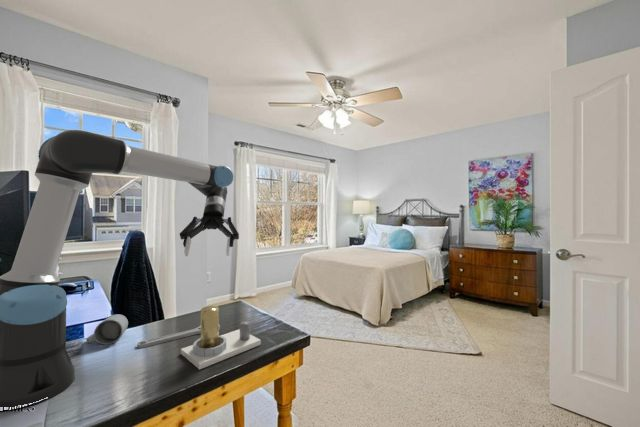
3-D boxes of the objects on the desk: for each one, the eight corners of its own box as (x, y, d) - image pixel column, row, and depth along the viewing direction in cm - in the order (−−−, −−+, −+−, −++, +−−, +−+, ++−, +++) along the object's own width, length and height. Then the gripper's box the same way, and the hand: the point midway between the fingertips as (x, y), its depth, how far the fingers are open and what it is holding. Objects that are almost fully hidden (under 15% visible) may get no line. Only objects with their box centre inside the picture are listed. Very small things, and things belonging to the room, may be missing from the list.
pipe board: (199, 369, 77) (199, 345, 77) (180, 353, 85) (181, 332, 85) (260, 344, 92) (261, 324, 92) (239, 333, 100) (240, 314, 100)
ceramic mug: (129, 332, 99) (129, 310, 99) (122, 342, 91) (122, 318, 91) (92, 337, 95) (92, 314, 95) (81, 348, 88) (81, 323, 87)
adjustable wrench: (137, 350, 87) (137, 345, 87) (136, 342, 93) (136, 337, 93) (220, 331, 102) (220, 326, 102) (216, 325, 107) (216, 320, 107)
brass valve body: (197, 354, 82) (197, 313, 82) (201, 344, 88) (201, 306, 87) (218, 352, 83) (219, 311, 83) (220, 342, 89) (221, 304, 89)
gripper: (247, 217, 119) (244, 259, 104) (182, 216, 114) (170, 260, 99) (246, 204, 113) (244, 246, 99) (178, 202, 108) (165, 247, 94)
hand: (207, 253), depth 99 cm, fingers open, 13 cm apart
